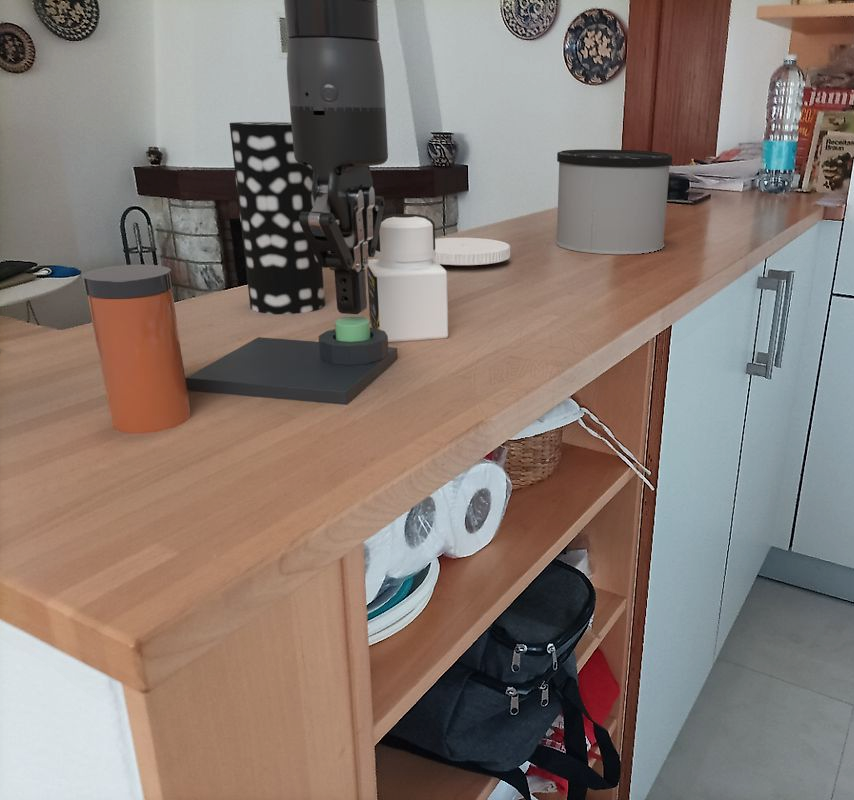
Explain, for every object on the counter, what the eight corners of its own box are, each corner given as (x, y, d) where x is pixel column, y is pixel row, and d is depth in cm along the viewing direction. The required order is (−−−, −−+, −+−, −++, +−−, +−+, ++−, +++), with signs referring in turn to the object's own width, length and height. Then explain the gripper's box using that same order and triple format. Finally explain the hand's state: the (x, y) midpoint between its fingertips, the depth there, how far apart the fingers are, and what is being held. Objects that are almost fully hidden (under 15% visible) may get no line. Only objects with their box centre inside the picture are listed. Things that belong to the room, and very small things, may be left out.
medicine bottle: (369, 325, 84) (363, 211, 79) (435, 320, 86) (432, 210, 82) (378, 344, 78) (372, 222, 73) (449, 339, 80) (446, 220, 75)
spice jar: (92, 431, 56) (62, 278, 52) (142, 403, 62) (117, 262, 58) (163, 438, 56) (137, 283, 52) (207, 409, 61) (187, 266, 57)
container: (669, 239, 140) (676, 151, 135) (660, 258, 123) (668, 158, 118) (566, 233, 144) (569, 147, 139) (544, 250, 127) (546, 154, 121)
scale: (186, 391, 64) (181, 356, 63) (259, 348, 75) (256, 318, 74) (347, 405, 62) (344, 370, 61) (397, 359, 73) (396, 328, 72)
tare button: (330, 343, 69) (329, 324, 68) (344, 333, 72) (343, 315, 71) (363, 345, 68) (361, 326, 68) (375, 336, 71) (374, 317, 70)
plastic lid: (475, 276, 107) (475, 258, 107) (396, 264, 114) (395, 247, 113) (527, 260, 119) (527, 243, 118) (452, 250, 125) (451, 234, 124)
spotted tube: (338, 306, 91) (325, 124, 84) (273, 318, 85) (253, 125, 78) (301, 293, 96) (285, 122, 89) (237, 304, 91) (215, 122, 83)
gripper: (328, 101, 69) (342, 292, 76) (253, 101, 57) (277, 329, 63) (409, 103, 68) (416, 297, 74) (349, 103, 56) (364, 335, 62)
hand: (352, 311), depth 69 cm, fingers closed
